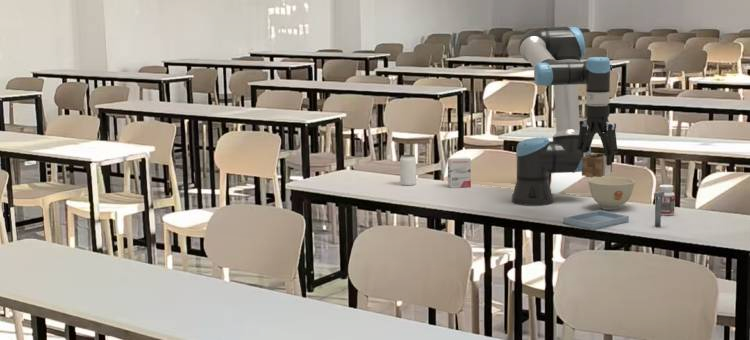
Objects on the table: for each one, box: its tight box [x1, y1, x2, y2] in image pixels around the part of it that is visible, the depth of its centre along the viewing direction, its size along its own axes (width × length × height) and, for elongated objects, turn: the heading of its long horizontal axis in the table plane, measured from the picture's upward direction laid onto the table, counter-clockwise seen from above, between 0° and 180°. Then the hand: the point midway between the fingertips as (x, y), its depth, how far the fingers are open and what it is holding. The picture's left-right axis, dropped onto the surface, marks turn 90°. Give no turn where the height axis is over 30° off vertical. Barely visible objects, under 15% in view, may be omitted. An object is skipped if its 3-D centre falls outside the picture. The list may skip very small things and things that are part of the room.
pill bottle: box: [658, 184, 676, 217], centre depth 348 cm, size 6×6×10 cm
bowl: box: [588, 176, 635, 211], centre depth 360 cm, size 16×16×10 cm
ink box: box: [447, 156, 472, 189], centre depth 407 cm, size 8×5×12 cm, turn 99°
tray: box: [562, 209, 630, 231], centre depth 339 cm, size 13×18×2 cm
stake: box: [653, 191, 664, 228], centre depth 331 cm, size 2×4×11 cm, turn 126°
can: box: [399, 154, 417, 187], centre depth 414 cm, size 6×6×12 cm
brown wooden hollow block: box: [581, 152, 613, 178], centre depth 335 cm, size 12×6×6 cm, turn 146°
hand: (596, 173), depth 336 cm, fingers closed on brown wooden hollow block, 8 cm apart
